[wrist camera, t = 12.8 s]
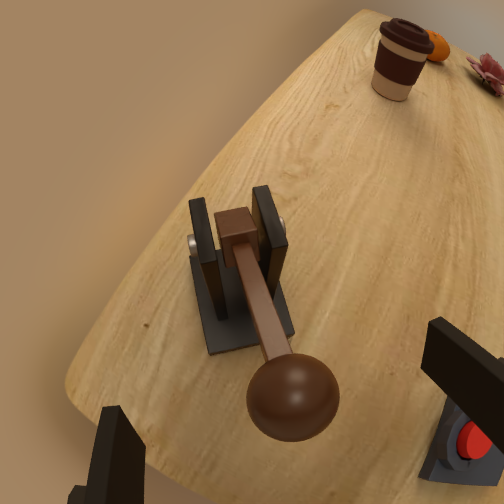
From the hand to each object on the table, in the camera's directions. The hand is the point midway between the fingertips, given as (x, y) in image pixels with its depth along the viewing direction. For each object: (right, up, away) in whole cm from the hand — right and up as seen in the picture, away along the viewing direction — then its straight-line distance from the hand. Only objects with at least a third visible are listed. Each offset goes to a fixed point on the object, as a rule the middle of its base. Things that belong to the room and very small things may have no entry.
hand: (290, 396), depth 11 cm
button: (+20, -13, +9) cm, 25 cm away
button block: (+23, -16, +11) cm, 30 cm away
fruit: (+46, +58, +49) cm, 89 cm away
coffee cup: (+24, +36, +37) cm, 57 cm away
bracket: (-3, +1, +19) cm, 19 cm away
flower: (+64, +53, +47) cm, 96 cm away
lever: (-1, +2, +5) cm, 5 cm away
